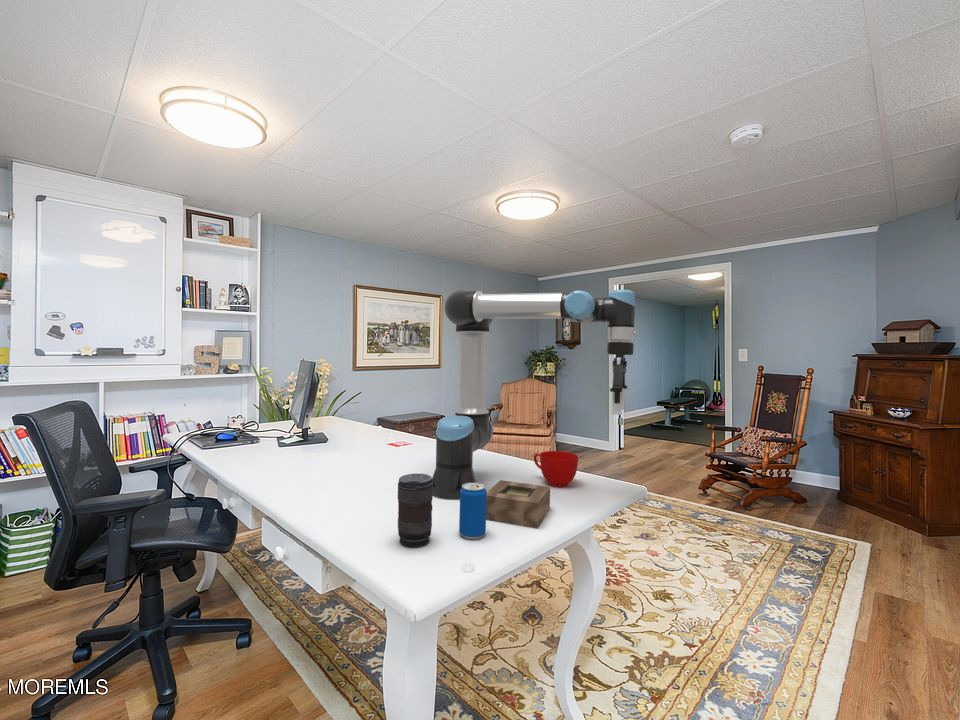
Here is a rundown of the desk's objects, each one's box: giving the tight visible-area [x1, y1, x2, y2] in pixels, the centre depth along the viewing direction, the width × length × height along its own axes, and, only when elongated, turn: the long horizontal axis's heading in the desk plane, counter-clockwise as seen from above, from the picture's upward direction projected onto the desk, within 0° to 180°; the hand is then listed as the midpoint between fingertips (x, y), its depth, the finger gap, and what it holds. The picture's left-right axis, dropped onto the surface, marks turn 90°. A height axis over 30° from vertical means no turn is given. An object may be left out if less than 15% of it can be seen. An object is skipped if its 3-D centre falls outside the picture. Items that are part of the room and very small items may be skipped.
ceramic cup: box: [533, 450, 579, 488], centre depth 152 cm, size 13×17×10 cm
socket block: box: [486, 480, 551, 529], centre depth 121 cm, size 15×15×6 cm
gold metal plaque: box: [505, 489, 531, 497], centre depth 121 cm, size 7×7×1 cm
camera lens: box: [397, 473, 434, 548], centre depth 102 cm, size 8×8×15 cm
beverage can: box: [458, 482, 488, 540], centre depth 107 cm, size 6×6×12 cm
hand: (618, 411), depth 133 cm, fingers open, 13 cm apart
